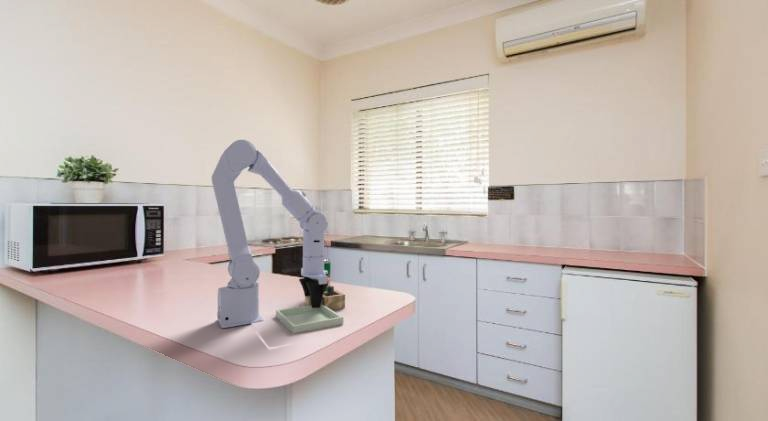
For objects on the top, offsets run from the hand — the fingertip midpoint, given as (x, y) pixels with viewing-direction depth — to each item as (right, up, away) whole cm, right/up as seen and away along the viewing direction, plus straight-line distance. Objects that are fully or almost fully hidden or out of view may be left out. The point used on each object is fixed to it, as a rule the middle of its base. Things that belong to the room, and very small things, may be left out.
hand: (313, 305), depth 98 cm
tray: (+1, -2, -9) cm, 9 cm away
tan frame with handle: (+3, -1, +2) cm, 3 cm away
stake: (+4, -1, +3) cm, 5 cm away
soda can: (0, -1, +13) cm, 13 cm away
